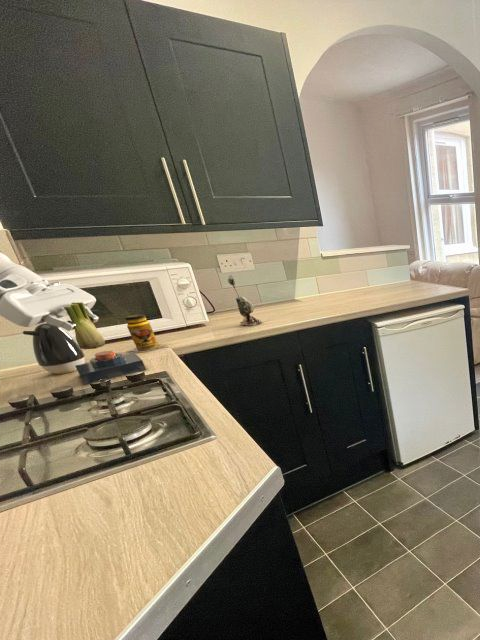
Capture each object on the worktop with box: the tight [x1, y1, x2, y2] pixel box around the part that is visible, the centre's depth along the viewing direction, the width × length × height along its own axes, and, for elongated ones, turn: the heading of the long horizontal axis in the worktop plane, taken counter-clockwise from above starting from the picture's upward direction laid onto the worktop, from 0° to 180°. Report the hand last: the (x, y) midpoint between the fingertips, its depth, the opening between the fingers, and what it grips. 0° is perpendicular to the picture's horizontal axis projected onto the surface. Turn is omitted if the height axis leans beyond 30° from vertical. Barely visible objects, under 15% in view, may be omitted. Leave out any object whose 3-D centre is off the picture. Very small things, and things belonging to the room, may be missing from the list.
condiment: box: [124, 313, 167, 353], centre depth 146 cm, size 7×8×12 cm
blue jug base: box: [75, 352, 147, 386], centre depth 126 cm, size 14×12×5 cm
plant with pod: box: [227, 274, 262, 327], centre depth 169 cm, size 8×11×20 cm
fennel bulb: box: [65, 302, 106, 350], centre depth 108 cm, size 6×5×12 cm
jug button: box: [94, 350, 116, 360], centre depth 125 cm, size 4×4×2 cm
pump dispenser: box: [22, 322, 85, 375], centre depth 127 cm, size 10×10×15 cm
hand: (84, 324), depth 108 cm, fingers closed on fennel bulb, 6 cm apart
